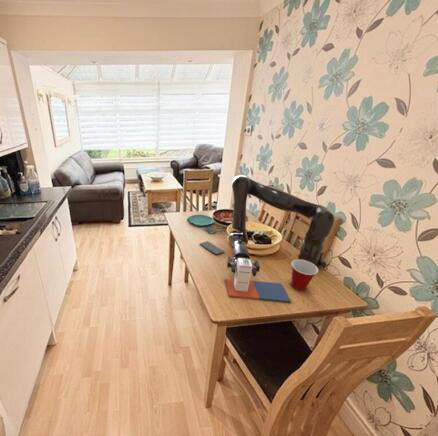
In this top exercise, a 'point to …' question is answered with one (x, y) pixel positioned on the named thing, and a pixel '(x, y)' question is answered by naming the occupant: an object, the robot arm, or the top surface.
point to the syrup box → (242, 274)
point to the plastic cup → (302, 273)
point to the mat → (259, 291)
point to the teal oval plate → (203, 222)
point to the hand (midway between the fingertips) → (244, 273)
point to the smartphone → (212, 248)
